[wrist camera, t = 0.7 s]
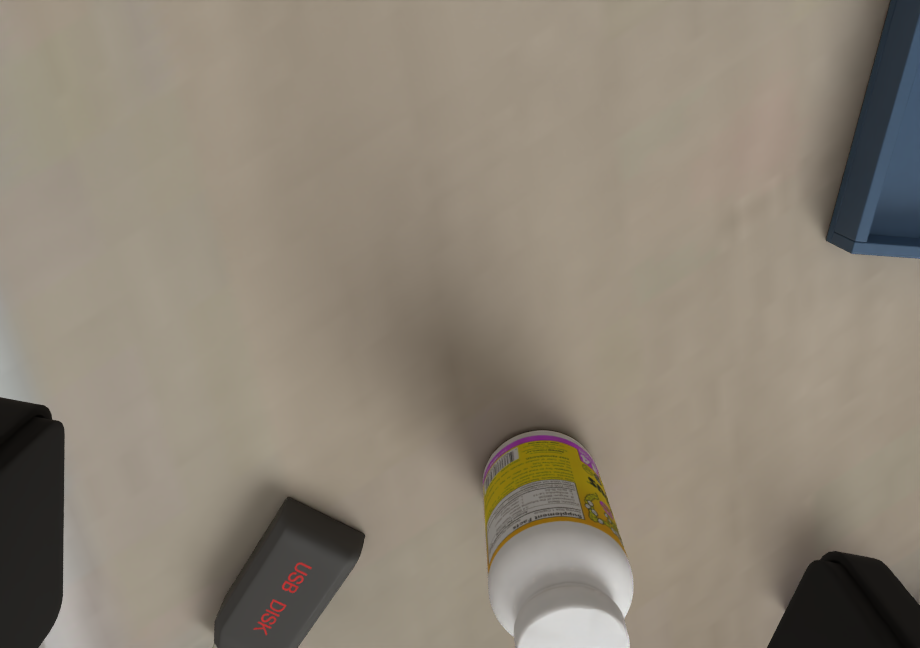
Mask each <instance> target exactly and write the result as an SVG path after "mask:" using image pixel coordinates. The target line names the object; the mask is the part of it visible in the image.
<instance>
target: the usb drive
mask: <svg viewBox="0 0 920 648" xmlns="http://www.w3.org/2000/svg"><path fill="white" fill-rule="evenodd" d="M364 538H365V535H364V534H362V533H360V532H358V531H356V530H354V529H352V528H350V527H348V526H346V525H344V524H342V523H340V522H338V521H336V520H334V519H332V518H330V517H328V516H326V515H323V514H321V513H319V512H317V511H315V510H313V509H311V508H309V507H307V506H305V505H303V504H301V503H299V502H297V501H295V500H293V499H291V498H289V497H288V498H287V499H286V500H285V502H284V503H283V505H282V507H281V508H280V510H279V511H278V513H277V514H276V516H275V518H274V519H273V521H272V522H271V524H270V526H269V527H268V529H267V530H266V532H265V534H264V535H263V537H262V538H261V540H260V541H259V543H258V545H257V546H256V548H255V549H254V551H253V553H252V554H251V556H250V557H249V559H248V561H247V562H246V564H245V565H244V567H243V569H242V570H241V572H240V573H239V575H238V576H237V578H236V580H235V581H234V583H233V584H232V586H231V588H230V589H229V591H228V592H227V594H226V596H225V598H224V601H223V603H222V605H221V608H220V610H219V612H218V615H217V617H216V620H215V628H214V645H213V648H298V646H299V645H300V643H301V642H302V641H303V639H304V638H305V636H306V635H307V633H308V632H309V631H310V629H311V628H312V626H313V625H314V623H315V622H316V621H317V619H318V618H319V616H320V615H321V613H322V612H323V611H324V609H325V608H326V606H327V605H328V603H329V602H330V601H331V599H332V598H333V596H334V595H335V593H336V592H337V591H338V589H339V588H340V586H341V585H342V583H343V582H344V581H345V579H346V578H347V576H348V575H349V573H350V572H351V570H352V569H353V568H354V566H355V564H356V563H357V561H358V559H359V557H360V554H361V551H362V547H363V543H364Z"/></svg>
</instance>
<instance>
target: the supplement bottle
mask: <svg viewBox="0 0 920 648" xmlns="http://www.w3.org/2000/svg"><path fill="white" fill-rule="evenodd" d="M483 504H484V519H485V536H486V552H487V570H488V589H489V599H490V603H491V606H492V609H493V612H494V614H495V616H496V617H497V619H498V621H499V622H500V624H501V625H502V626H503V627H504V628H505V629H506V631H507V632H508V633H510V634H511V635H512V636H513V637H514V641H515V648H630V641H629V635H628V632H627V628H626V625H625V620H624V618H625V616H626V614H627V612H628V610H629V607H630V604H631V601H632V597H633V575H632V570H631V567H630V564H629V561H628V558H627V555H626V552H625V549H624V546H623V543H622V540H621V537H620V534H619V532H618V529H617V525H616V522H615V520H614V516H613V513H612V510H611V508H610V505H609V502H608V498H607V496H606V492H605V490H604V487H603V484H602V481H601V478H600V475H599V472H598V470H597V467H596V465H595V462H594V460H593V458H592V457H591V455H590V454H589V452H588V451H587V450H586V449H585V448H584V447H583V446H582V445H581V444H580V443H579V442H577V441H576V440H574V439H573V438H571V437H569V436H567V435H564V434H562V433H558V432H554V431H547V430H538V431H531V432H526V433H523V434H520V435H517V436H515V437H513V438H511V439H509V440H507V441H506V442H504V443H503V444H502V445H501V446H500V447H499V448H498V449H497V450H496V451H495V452H494V453H493V454H492V456H491V457H490V459H489V461H488V463H487V465H486V467H485V470H484V475H483Z"/></svg>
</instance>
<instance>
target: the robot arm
mask: <svg viewBox="0 0 920 648" xmlns="http://www.w3.org/2000/svg"><path fill="white" fill-rule="evenodd" d="M64 437H65V434H64V427H63V424H62V423H61V422H59V421H56V420H52V415H51V413H50V410H49V408H47V407H46V406H44V405H39V404H33V403H28V402H22V401H17V400H12V399H6V398H1V397H0V648H38V647H39V646H40V645H41V643H42V642H43V640H44V639H45V638H46V636H47V635H48V633H49V632H50V630H51V629H52V627H53V625H54V623H55V621H56V619H57V617H58V614H59V611H60V608H61V604H62V597H63V528H64ZM767 648H920V605H919V604H918V603H917V602H916V600H915V599H914V598H913V597H912V596H911V594H910V593H909V592H908V591H907V590H906V588H905V587H904V586H903V585H902V584H901V582H900V581H899V580H898V579H897V577H896V576H895V575H894V574H893V573H892V571H891V570H890V569H889V568H888V567H887V566H886V565H885V564H884V563H883V562H882V561H880V560H877V559H874V558H869V557H864V556H859V555H853V554H848V553H842V552H837V551H833V552H828V553H826V554H825V555H824V556H822V558H821V559H820V560H815V561H813V562H812V563H810V565H809V566H808V568H807V569H806V571H805V573H804V575H803V577H802V579H801V581H800V583H799V585H798V587H797V589H796V591H795V593H794V595H793V597H792V599H791V601H790V603H789V605H788V607H787V609H786V611H785V613H784V615H783V617H782V619H781V621H780V623H779V625H778V627H777V629H776V631H775V633H774V635H773V637H772V639H771V641H770V643H769V645H768V647H767Z"/></svg>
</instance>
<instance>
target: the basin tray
mask: <svg viewBox="0 0 920 648" xmlns="http://www.w3.org/2000/svg"><path fill="white" fill-rule="evenodd" d="M826 241H828V242H830V243H832V244H834V245H836V246H838V247H840V248H842V249H844V250H846V251H848V252H850V253H851V254H863V255H877V256H891V257H905V258H919V259H920V0H891V2H890V6H889V9H888V13H887V17H886V20H885V24H884V28H883V32H882V35H881V39H880V43H879V46H878V50H877V54H876V57H875V61H874V65H873V69H872V72H871V76H870V80H869V83H868V87H867V91H866V94H865V98H864V102H863V105H862V109H861V113H860V117H859V120H858V124H857V128H856V131H855V135H854V139H853V142H852V146H851V150H850V153H849V157H848V161H847V165H846V168H845V172H844V176H843V179H842V183H841V187H840V190H839V194H838V198H837V202H836V205H835V209H834V213H833V216H832V220H831V224H830V227H829V231H828V235H827V238H826Z"/></svg>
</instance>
